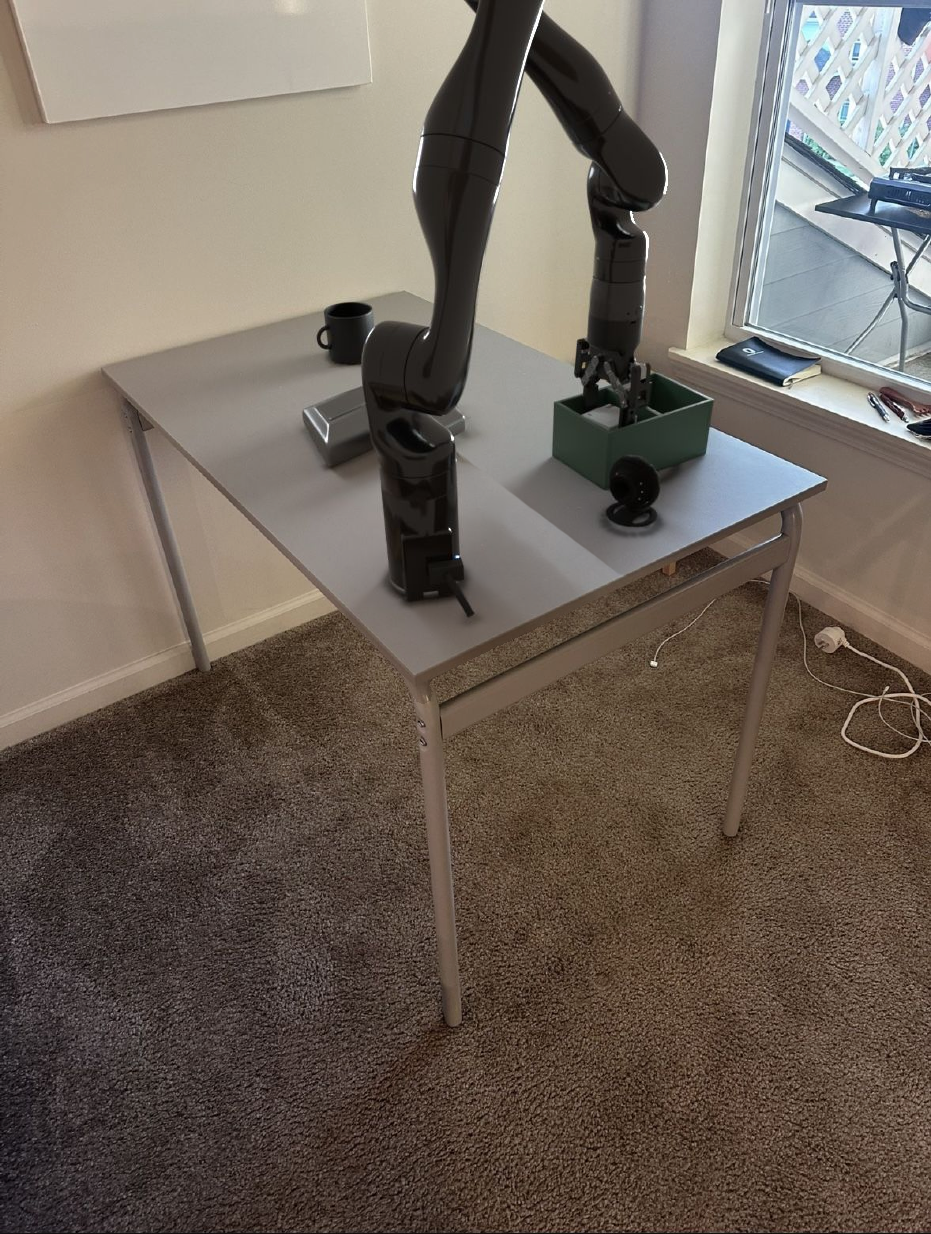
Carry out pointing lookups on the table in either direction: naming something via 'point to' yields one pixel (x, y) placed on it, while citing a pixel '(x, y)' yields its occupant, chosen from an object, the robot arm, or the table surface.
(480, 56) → the robot arm
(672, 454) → the bin
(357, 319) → the mug
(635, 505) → the webcam
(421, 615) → the table surface
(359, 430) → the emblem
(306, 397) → the table surface
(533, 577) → the table surface
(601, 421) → the product carton
